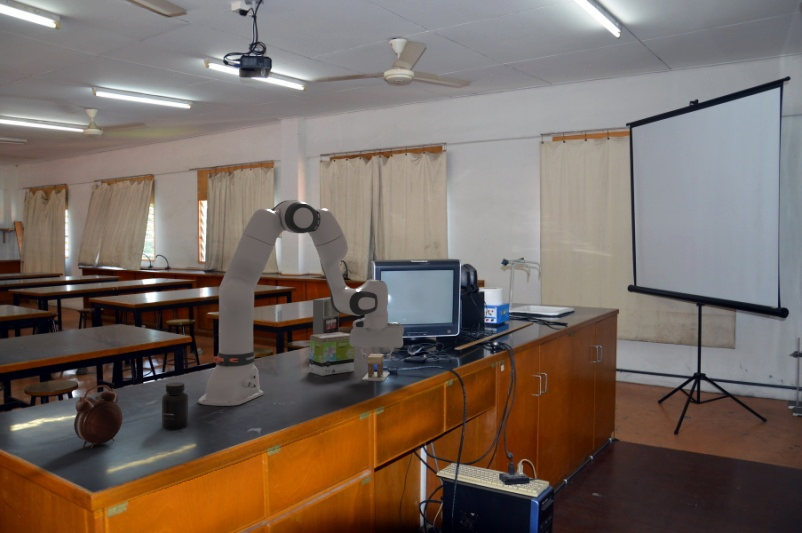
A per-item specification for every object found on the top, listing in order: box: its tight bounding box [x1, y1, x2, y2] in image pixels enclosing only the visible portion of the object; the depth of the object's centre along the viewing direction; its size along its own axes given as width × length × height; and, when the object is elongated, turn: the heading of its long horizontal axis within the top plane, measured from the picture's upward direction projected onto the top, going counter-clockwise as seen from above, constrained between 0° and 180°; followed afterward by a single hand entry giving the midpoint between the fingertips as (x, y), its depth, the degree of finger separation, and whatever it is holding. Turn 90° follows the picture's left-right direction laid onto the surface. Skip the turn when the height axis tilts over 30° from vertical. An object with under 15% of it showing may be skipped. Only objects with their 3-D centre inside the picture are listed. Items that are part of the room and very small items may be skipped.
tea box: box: [308, 331, 355, 377], centre depth 238 cm, size 15×10×15 cm
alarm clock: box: [73, 384, 123, 449], centre depth 152 cm, size 11×5×15 cm, turn 150°
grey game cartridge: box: [312, 296, 340, 335], centre depth 277 cm, size 14×6×25 cm, turn 155°
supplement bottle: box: [161, 381, 189, 431], centre depth 167 cm, size 7×7×12 cm
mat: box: [362, 371, 390, 382], centre depth 230 cm, size 12×8×1 cm, turn 171°
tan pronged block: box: [366, 353, 385, 378], centre depth 230 cm, size 7×5×8 cm
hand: (376, 358), depth 229 cm, fingers open, 8 cm apart
